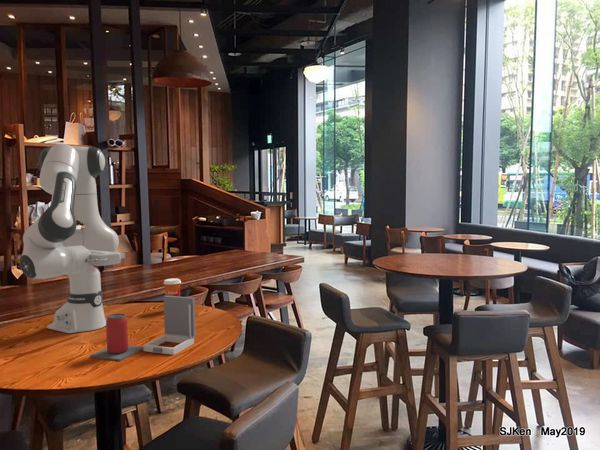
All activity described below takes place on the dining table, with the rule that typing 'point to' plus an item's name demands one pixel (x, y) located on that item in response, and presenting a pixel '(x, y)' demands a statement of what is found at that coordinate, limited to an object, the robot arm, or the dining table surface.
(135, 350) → the rubber mat
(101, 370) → the dining table surface
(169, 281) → the paper cup
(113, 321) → the beer can
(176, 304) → the case
